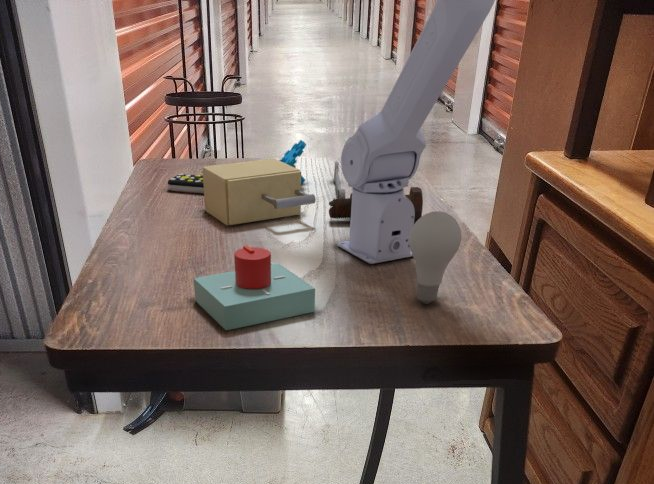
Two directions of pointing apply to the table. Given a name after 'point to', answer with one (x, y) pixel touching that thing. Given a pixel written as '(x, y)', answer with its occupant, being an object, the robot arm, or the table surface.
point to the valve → (252, 267)
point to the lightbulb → (433, 250)
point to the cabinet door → (266, 197)
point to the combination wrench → (338, 182)
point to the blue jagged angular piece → (294, 155)
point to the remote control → (186, 183)
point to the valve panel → (254, 298)
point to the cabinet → (219, 175)
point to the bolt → (343, 206)
